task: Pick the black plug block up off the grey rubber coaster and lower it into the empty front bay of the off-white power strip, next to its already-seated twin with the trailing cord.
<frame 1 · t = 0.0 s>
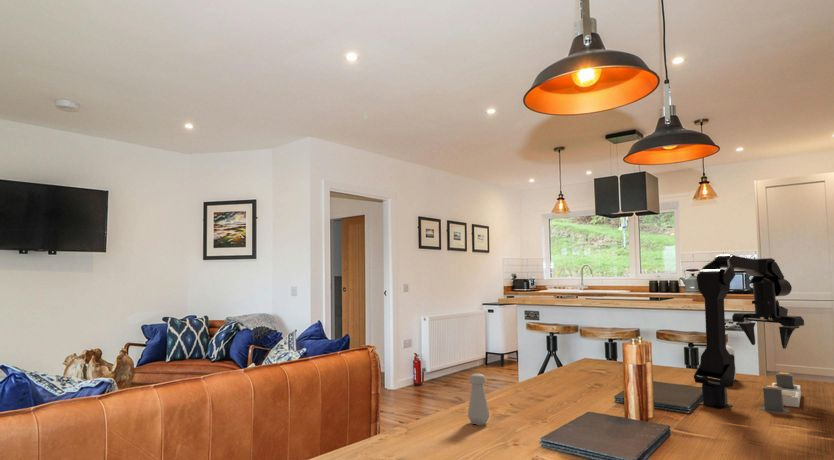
hand: (768, 346, 157), 15 cm above the table, tool pointing down, fingers open, 9 cm apart
salt shaker: (478, 424, 133), on the table
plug: (774, 409, 138), resting on coaster
coaster: (774, 411, 138), on the table
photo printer: (726, 381, 175), on the table
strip: (785, 399, 149), on the table
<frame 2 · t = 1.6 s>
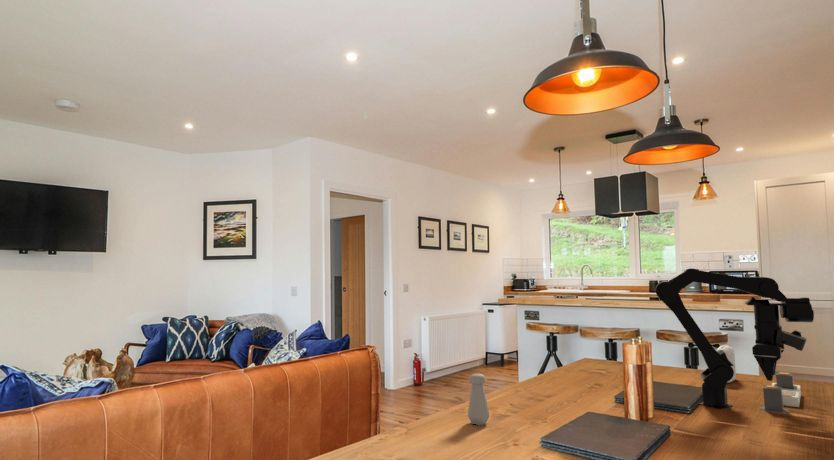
hand: (771, 377, 139), 9 cm above the table, tool pointing down, fingers open, 9 cm apart
nothing on the table moved.
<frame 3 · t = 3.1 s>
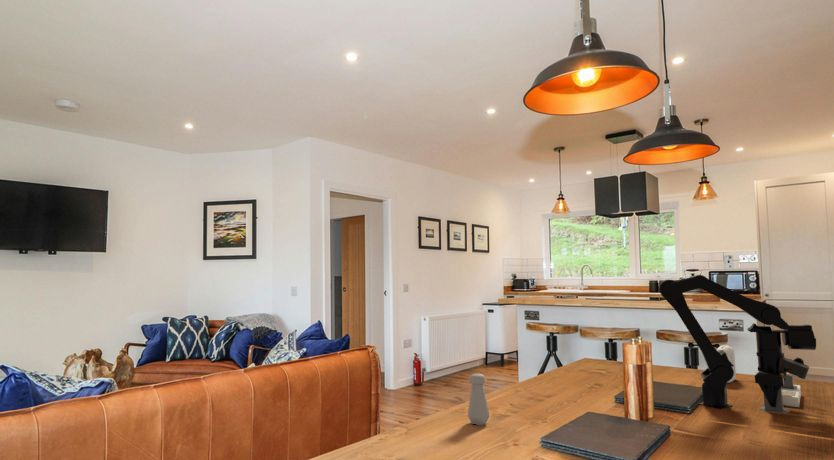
hand: (773, 405, 138), 2 cm above the table, tool pointing down, fingers closed on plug, 4 cm apart
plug: (774, 409, 138), resting on coaster, touching gripper
everything else where it was.
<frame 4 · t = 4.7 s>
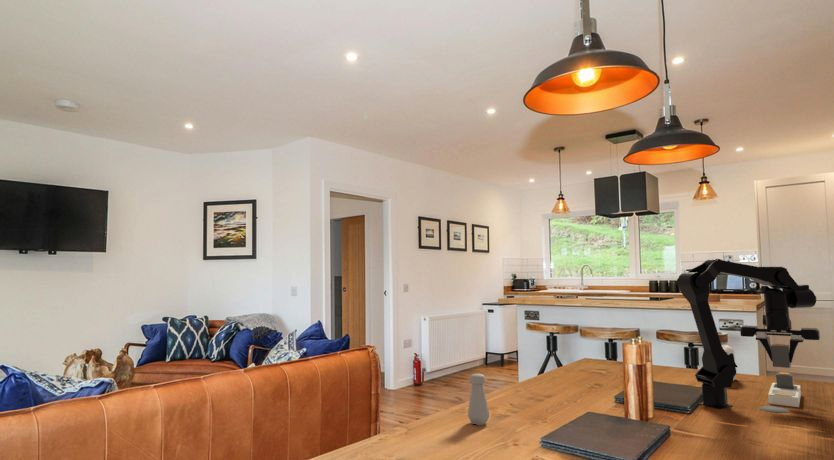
hand: (781, 362, 146), 12 cm above the table, tool pointing down, fingers closed on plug, 4 cm apart
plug: (781, 366, 146), point 11 cm above the table, touching gripper
everything else where it was.
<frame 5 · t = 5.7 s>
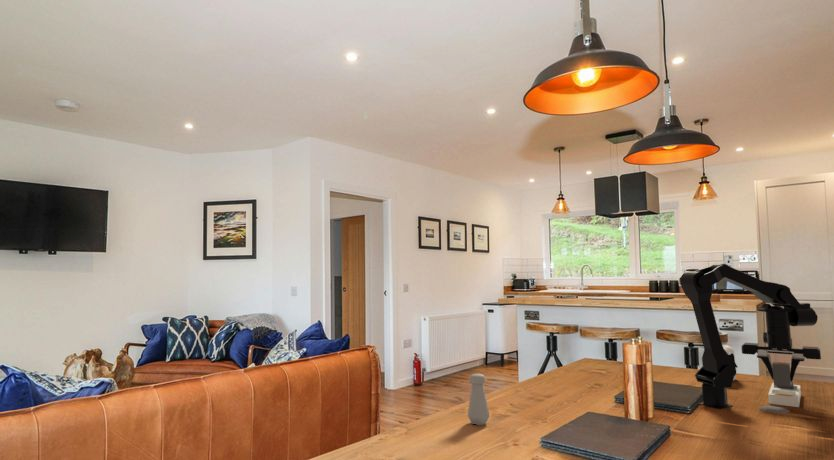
hand: (782, 380, 146), 7 cm above the table, tool pointing down, fingers closed on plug, 4 cm apart
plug: (782, 384, 146), point 5 cm above the table, touching gripper
everything else where it was.
when the fingers open (4 cm above the table, at t = 6.5 s): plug drops 2 cm, resting on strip.
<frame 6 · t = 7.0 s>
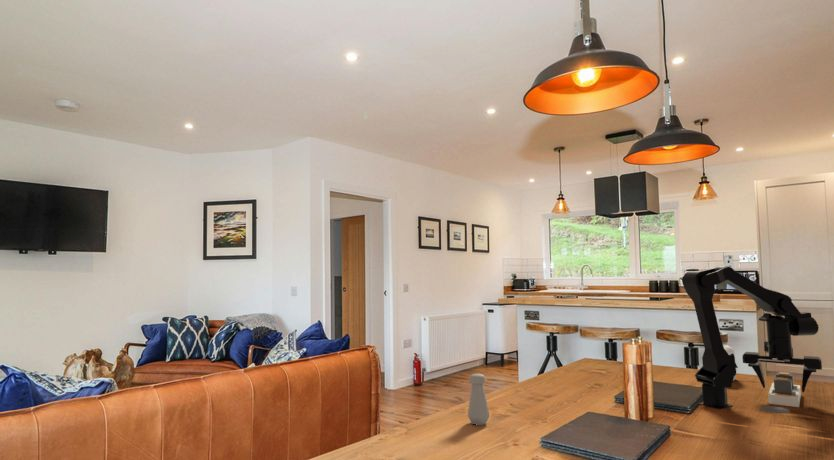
hand: (783, 389, 146), 4 cm above the table, tool pointing down, fingers open, 9 cm apart
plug: (784, 400, 145), point 1 cm above the table, touching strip
everything else where it was.
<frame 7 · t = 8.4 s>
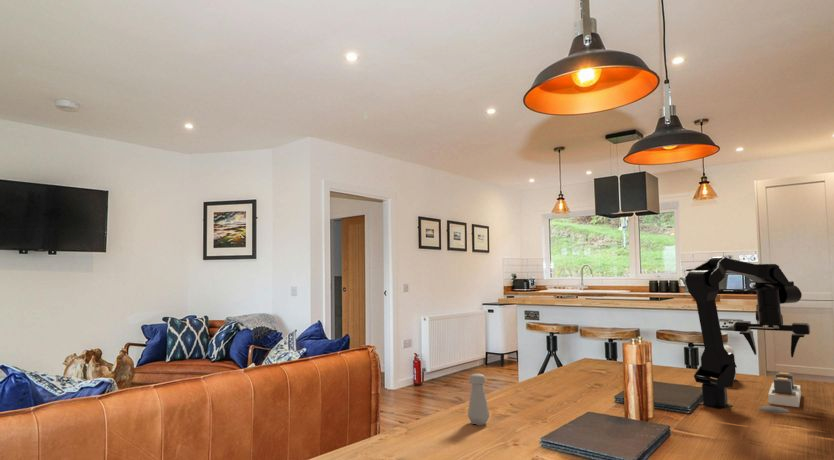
hand: (773, 355, 151), 13 cm above the table, tool pointing down, fingers open, 9 cm apart
nothing on the table moved.
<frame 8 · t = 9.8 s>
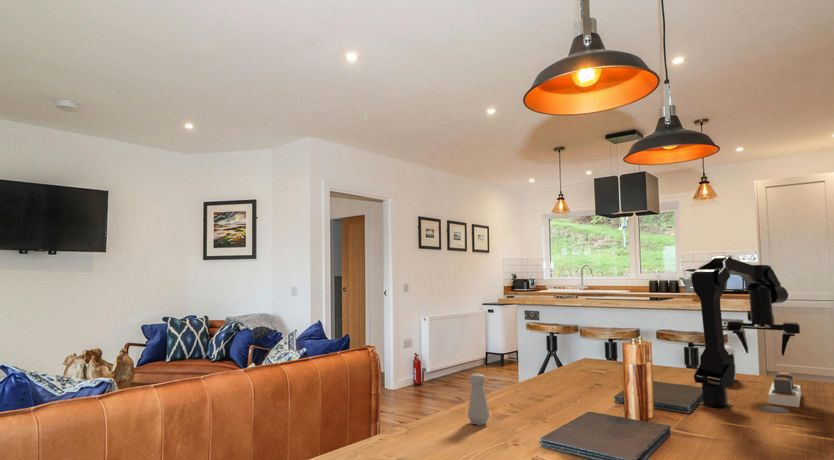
hand: (764, 354, 156), 12 cm above the table, tool pointing down, fingers open, 9 cm apart
nothing on the table moved.
at the end: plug 0.0 cm from the target spot on the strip, point 0.8 cm above the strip's base; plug tilted 0°; the gripper is holding nothing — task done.
